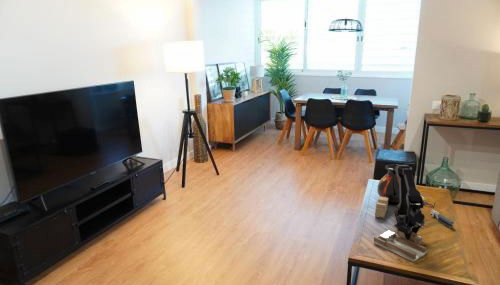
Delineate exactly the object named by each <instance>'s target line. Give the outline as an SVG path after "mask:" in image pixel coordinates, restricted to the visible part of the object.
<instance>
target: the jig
mask: <svg viewBox="0 0 500 285" xmlns="http://www.w3.org/2000/svg"><path fill="white" fill-rule="evenodd" d="M387 231H388V230H385V231H384V232H382V233H381V234H378V235H376V236H375V237H373V243H374V244H375V245H377V246H380V247H381V248H383V249H386V250H387V251H389V252H392V253H394V254H396V255H397V256H400V257H401V258H404V259H406V260H409V261H411V262H413V263H414V262H416V261H417V260H419V259H420V258H422V257H423V256H425V255H426V254H428V251H427V247H425V246H423V245H422V244H421V245H419V244H416V243H414V242H412V241H410V240H407V239H405V238H403V237H400V236H399V233H396V232H394V233H395V238H394V240H392V241H391V242H390V241H384V240H382V239H380V235H382V234H383V233H385V232H387ZM390 231H391V230H390ZM391 232H393V231H391Z"/></svg>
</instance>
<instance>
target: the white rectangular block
mask: <svg viewBox="0 0 500 285" xmlns="http://www.w3.org/2000/svg"><path fill="white" fill-rule="evenodd" d="M386 231H387V232H386ZM386 231H384V232H385V233H384V232H382V233H383V234H382V233H381V234H382V235H380V234H379V235H380V239H382V240H384V241H390V242H391V241H392V240H394V238H395V233H396V232H394V231H392V232H391V230H389V229H388V230H386Z"/></svg>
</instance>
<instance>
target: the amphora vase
mask: <svg viewBox="0 0 500 285" xmlns="http://www.w3.org/2000/svg"><path fill="white" fill-rule="evenodd" d="M397 165H398V164H392V163H391V164H387V165H385V169H386V170H387V173H386V174H385V175H384V176H382V178H381V179H379V182H378V184H377V187H376V188H377V189H376V192H377V194H378V196H379V197H386V198H388V206H389V207H397V206H398V204H399V203H400V192H399V178H398V176H397V175H396V171H395V168H396V167H397ZM388 206H387V207H388Z"/></svg>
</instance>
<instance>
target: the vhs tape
mask: <svg viewBox="0 0 500 285" xmlns="http://www.w3.org/2000/svg"><path fill="white" fill-rule="evenodd" d="M427 202H428V201H425V200H423V203H424V206H423V207H427V206H428V207H427V208H432V207H433V208H432V209H434V208H435V205H436V203H435V204H434V206H433V205H430V204H429V205H428V203H427Z"/></svg>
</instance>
